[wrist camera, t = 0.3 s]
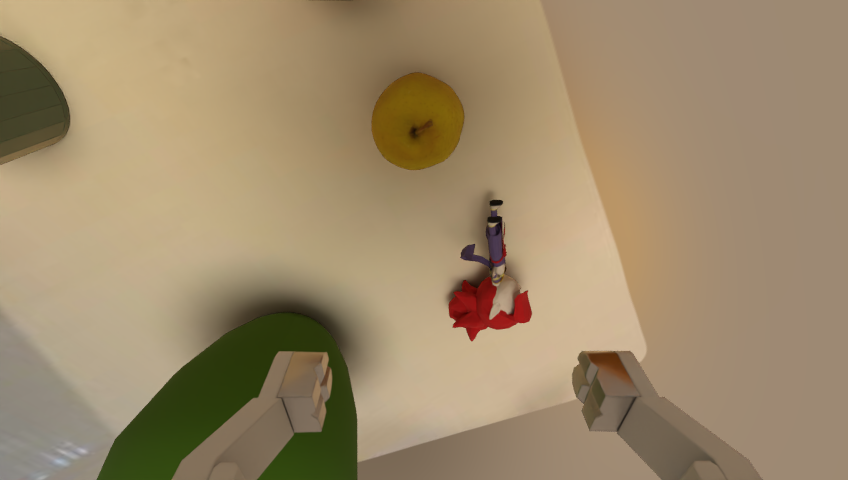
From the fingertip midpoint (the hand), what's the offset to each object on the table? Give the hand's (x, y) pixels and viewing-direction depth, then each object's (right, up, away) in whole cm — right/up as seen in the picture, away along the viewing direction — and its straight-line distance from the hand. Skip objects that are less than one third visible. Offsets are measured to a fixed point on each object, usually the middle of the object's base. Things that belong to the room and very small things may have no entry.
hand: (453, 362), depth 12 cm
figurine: (+5, +2, +26) cm, 26 cm away
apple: (-1, +15, +17) cm, 23 cm away
